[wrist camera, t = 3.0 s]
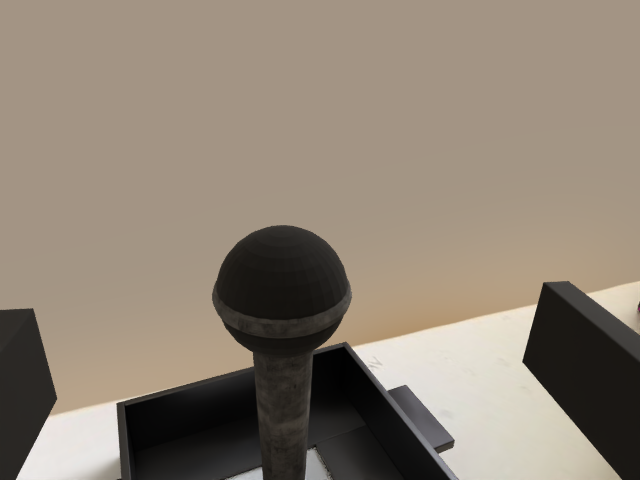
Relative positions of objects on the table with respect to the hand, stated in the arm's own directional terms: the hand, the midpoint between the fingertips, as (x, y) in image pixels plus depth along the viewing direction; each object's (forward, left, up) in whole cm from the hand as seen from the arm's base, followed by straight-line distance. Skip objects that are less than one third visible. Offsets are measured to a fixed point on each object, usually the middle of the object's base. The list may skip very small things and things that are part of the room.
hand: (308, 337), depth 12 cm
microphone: (-3, -9, -21) cm, 23 cm away
